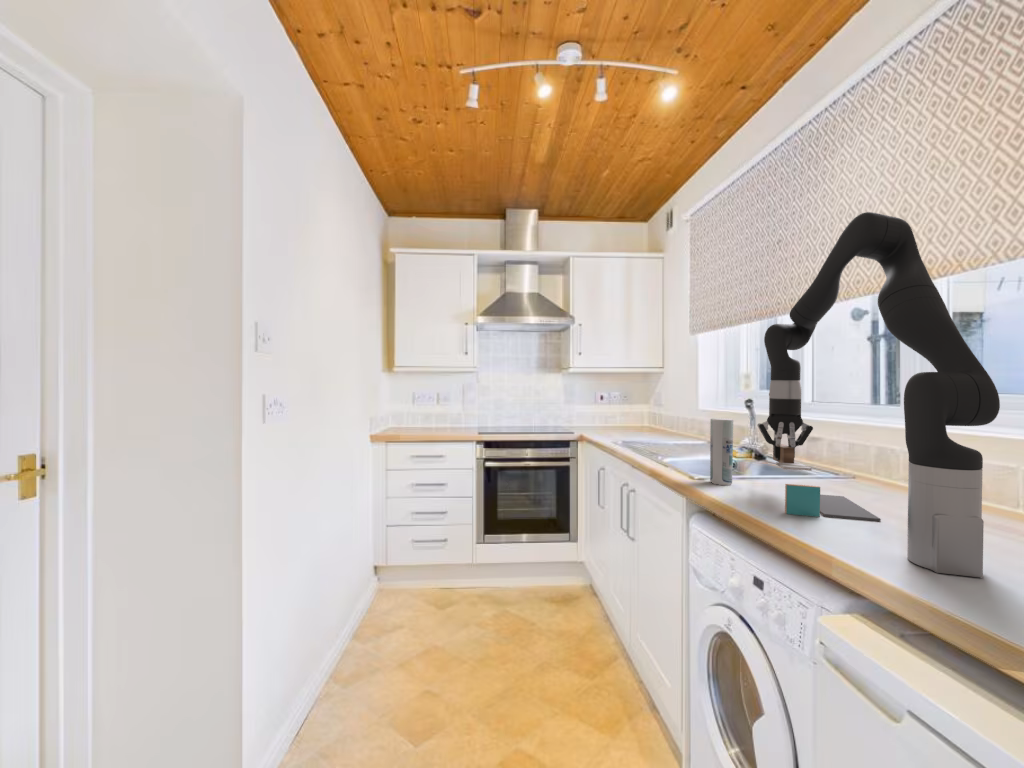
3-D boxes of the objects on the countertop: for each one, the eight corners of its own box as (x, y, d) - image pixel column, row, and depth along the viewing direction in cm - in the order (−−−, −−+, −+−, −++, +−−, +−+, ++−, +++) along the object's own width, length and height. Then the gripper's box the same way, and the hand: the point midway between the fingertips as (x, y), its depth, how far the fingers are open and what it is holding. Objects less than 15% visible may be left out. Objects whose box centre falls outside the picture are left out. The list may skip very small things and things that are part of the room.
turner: (766, 458, 133) (766, 443, 133) (789, 460, 131) (789, 444, 131) (783, 468, 114) (783, 450, 114) (811, 470, 112) (811, 452, 112)
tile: (820, 517, 107) (820, 487, 107) (786, 514, 109) (786, 484, 109) (818, 515, 108) (818, 486, 108) (784, 512, 110) (785, 483, 110)
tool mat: (880, 521, 104) (880, 518, 104) (824, 516, 107) (824, 514, 107) (843, 498, 125) (843, 496, 125) (797, 494, 128) (797, 492, 128)
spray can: (715, 480, 147) (715, 417, 147) (736, 483, 142) (736, 419, 142) (706, 482, 142) (706, 418, 142) (727, 486, 138) (728, 420, 138)
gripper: (759, 397, 124) (758, 461, 124) (818, 398, 119) (817, 464, 119) (754, 396, 131) (753, 456, 131) (809, 397, 126) (808, 459, 127)
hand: (784, 460), depth 125 cm, fingers closed on turner, 2 cm apart
